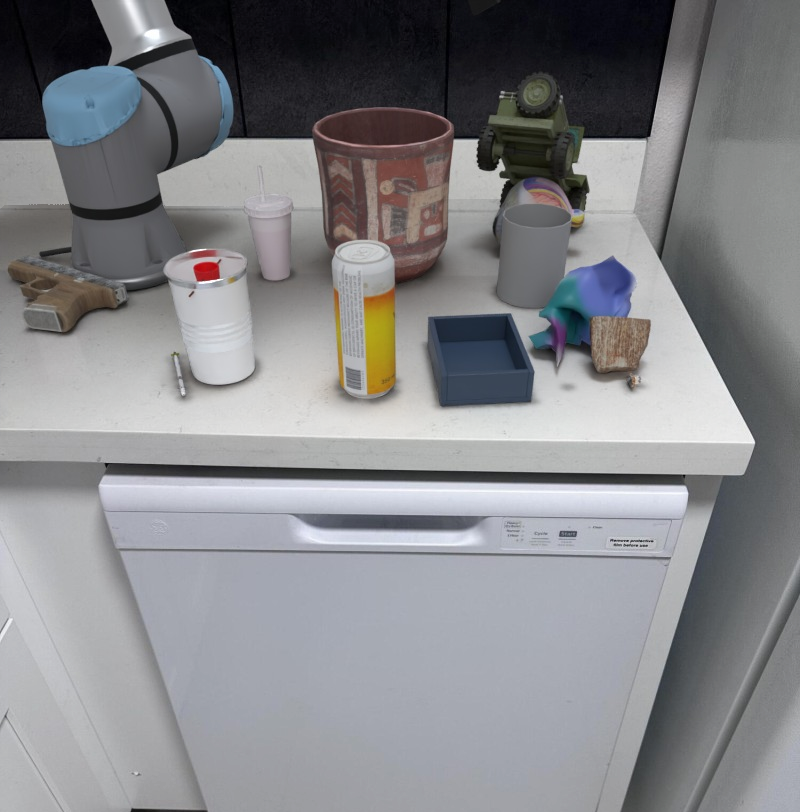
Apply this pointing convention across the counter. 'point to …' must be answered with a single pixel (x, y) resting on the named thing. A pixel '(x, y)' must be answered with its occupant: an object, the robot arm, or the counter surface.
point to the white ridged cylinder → (213, 313)
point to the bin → (479, 360)
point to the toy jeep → (534, 139)
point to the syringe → (179, 373)
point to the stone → (618, 342)
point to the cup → (532, 253)
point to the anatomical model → (536, 200)
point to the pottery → (386, 182)
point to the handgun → (62, 293)
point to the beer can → (365, 317)
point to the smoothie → (271, 230)
